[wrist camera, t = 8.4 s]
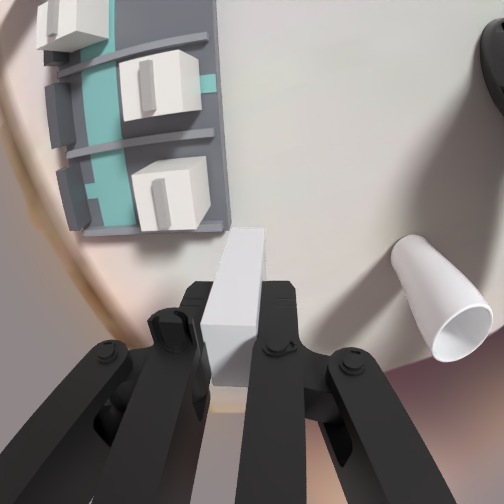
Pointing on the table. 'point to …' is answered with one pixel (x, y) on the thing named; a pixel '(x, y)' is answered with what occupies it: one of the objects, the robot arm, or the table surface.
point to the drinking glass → (441, 300)
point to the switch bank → (139, 130)
